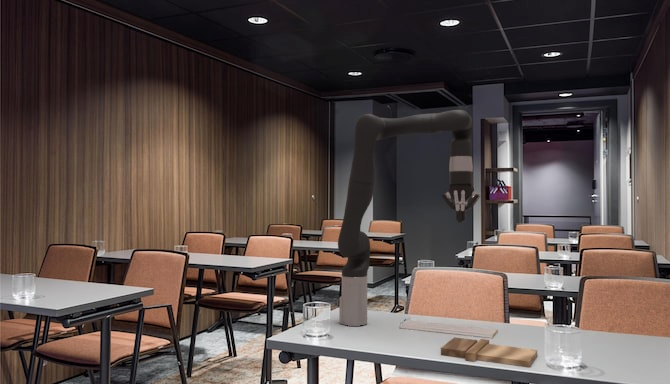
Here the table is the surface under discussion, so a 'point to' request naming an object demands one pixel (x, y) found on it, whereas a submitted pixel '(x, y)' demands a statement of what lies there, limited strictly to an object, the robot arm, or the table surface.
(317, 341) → the table surface
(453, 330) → the baseboard molding
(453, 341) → the plank
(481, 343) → the floor edge
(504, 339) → the table surface
